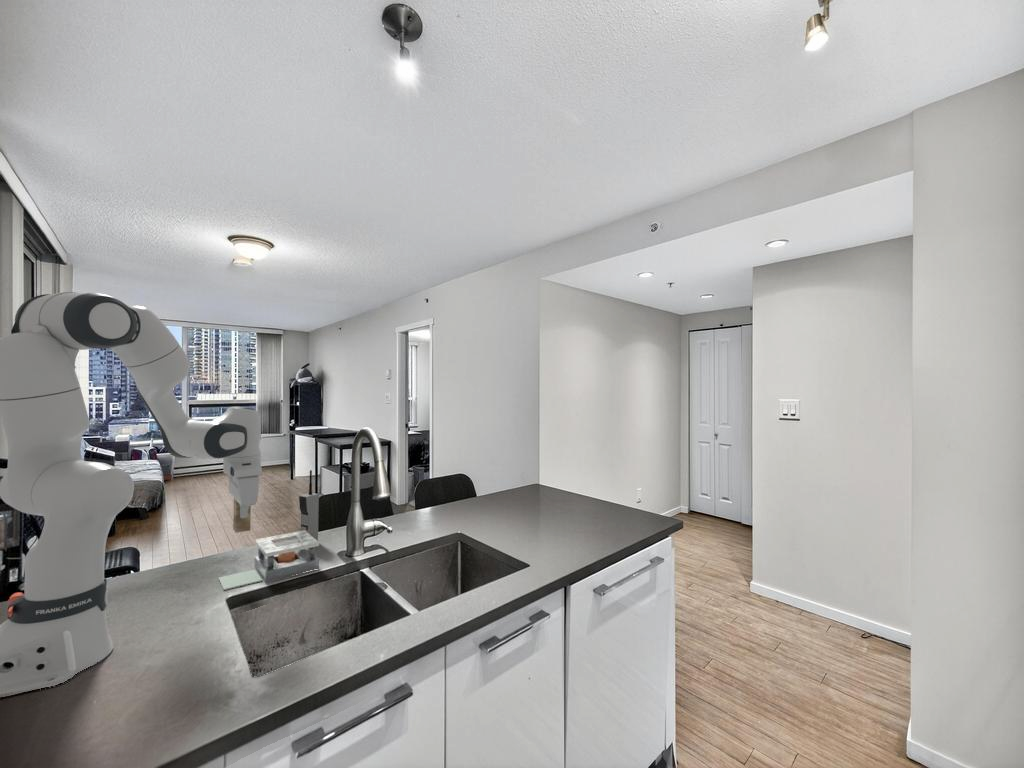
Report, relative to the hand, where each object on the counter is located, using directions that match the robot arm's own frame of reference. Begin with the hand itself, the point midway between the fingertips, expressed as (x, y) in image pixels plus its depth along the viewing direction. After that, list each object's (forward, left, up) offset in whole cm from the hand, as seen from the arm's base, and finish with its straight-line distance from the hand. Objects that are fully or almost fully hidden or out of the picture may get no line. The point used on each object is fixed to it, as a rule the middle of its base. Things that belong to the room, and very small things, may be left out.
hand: (241, 515), depth 124 cm
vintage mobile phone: (+23, +18, -18) cm, 34 cm away
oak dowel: (0, 0, -4) cm, 4 cm away
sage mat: (0, 0, -18) cm, 18 cm away
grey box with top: (+12, +1, -18) cm, 22 cm away
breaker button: (+12, +1, -17) cm, 21 cm away
